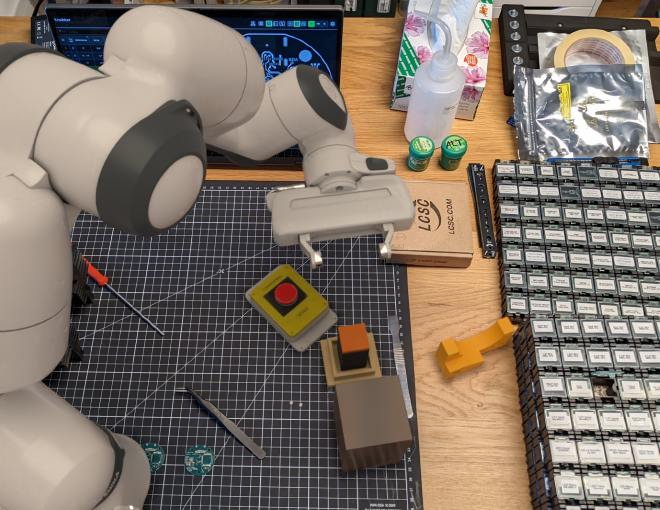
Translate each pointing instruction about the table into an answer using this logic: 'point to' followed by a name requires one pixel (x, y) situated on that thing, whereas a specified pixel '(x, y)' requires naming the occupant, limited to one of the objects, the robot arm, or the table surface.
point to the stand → (371, 423)
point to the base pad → (338, 376)
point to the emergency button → (292, 307)
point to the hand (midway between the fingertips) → (351, 261)
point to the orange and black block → (352, 346)
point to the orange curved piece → (472, 348)
